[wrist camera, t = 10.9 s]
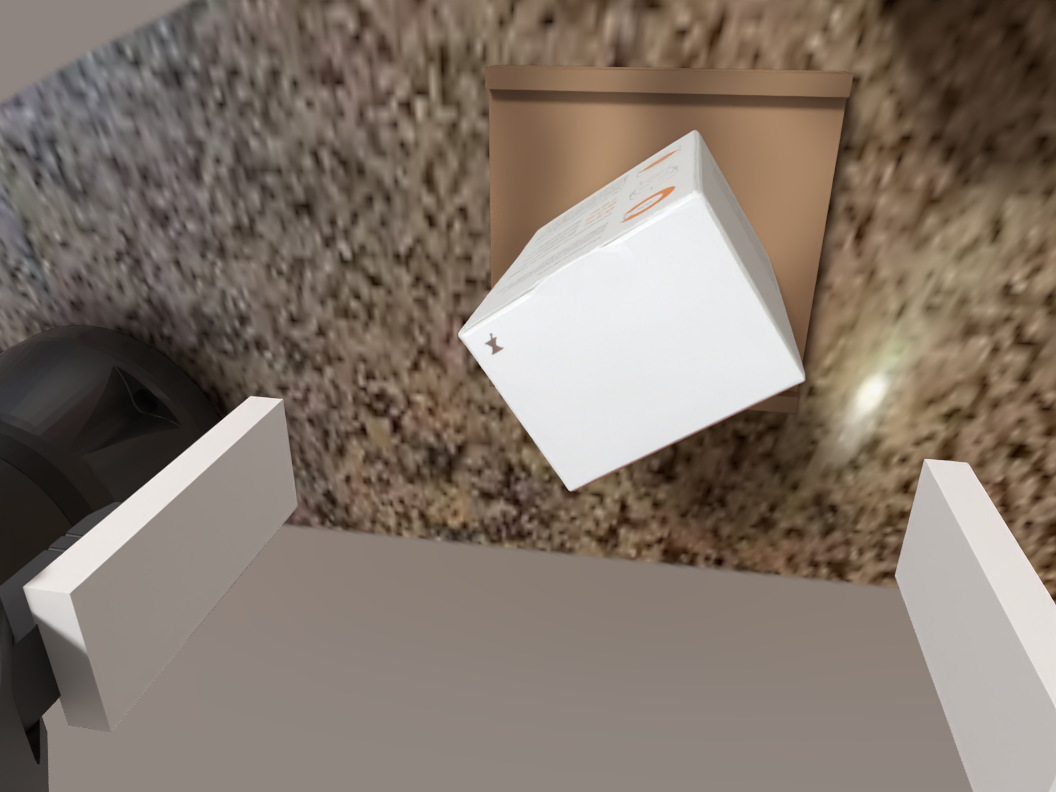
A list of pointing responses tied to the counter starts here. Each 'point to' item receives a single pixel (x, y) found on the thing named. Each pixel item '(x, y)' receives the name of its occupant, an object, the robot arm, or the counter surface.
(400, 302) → the counter surface
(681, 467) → the counter surface
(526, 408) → the small box
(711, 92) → the walnut board
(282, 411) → the robot arm
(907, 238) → the counter surface
